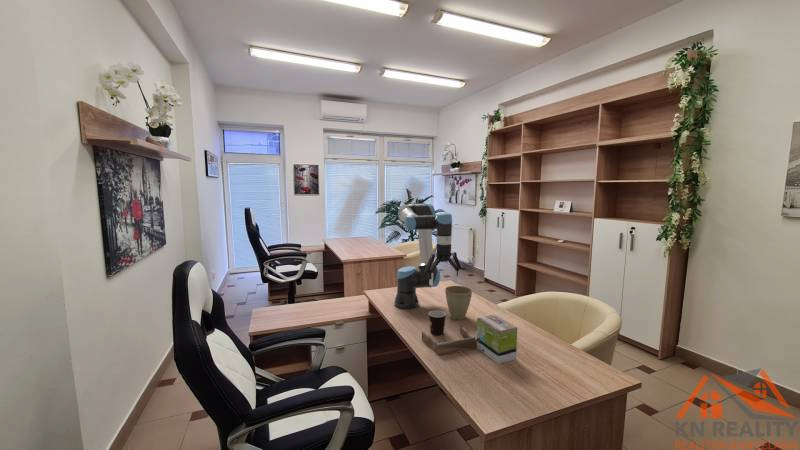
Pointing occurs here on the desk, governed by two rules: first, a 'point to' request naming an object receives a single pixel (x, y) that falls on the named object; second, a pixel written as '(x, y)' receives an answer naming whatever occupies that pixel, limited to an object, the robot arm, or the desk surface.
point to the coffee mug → (437, 322)
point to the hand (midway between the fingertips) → (443, 283)
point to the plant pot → (458, 300)
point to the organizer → (451, 343)
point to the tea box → (497, 338)
